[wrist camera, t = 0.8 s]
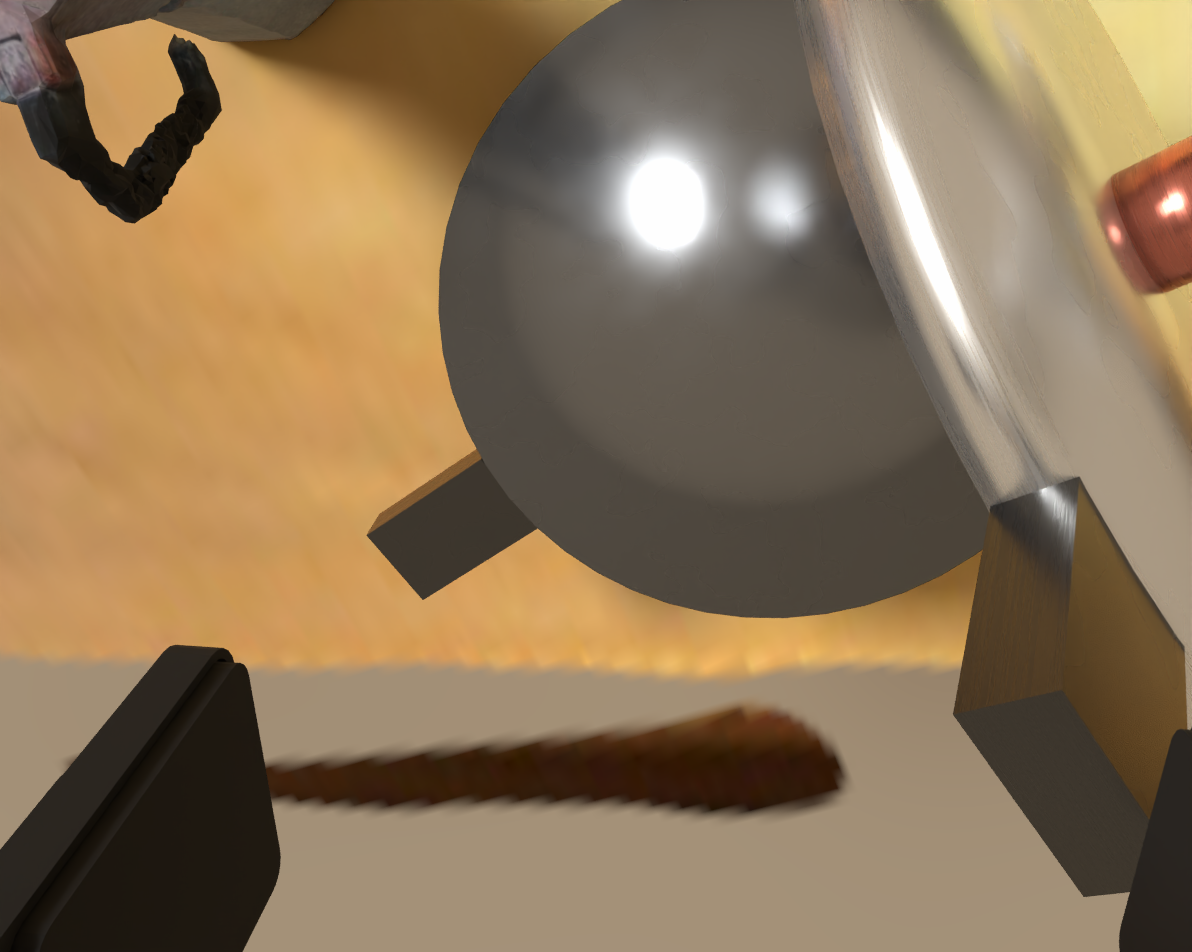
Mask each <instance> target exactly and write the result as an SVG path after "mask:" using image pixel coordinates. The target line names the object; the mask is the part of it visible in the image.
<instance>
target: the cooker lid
mask: <svg viewBox="0 0 1192 952" xmlns="http://www.w3.org/2000/svg"><path fill="white" fill-rule="evenodd" d="M794 5H795V12H796V18H797V24H798V29H799V33H800V37H801V41H802V46H803V50H804V54H805V59H806V63H807V67H808V71H809V76H810V80H811V84H812V88H813V93H814V97H815V100H816V103H817V106H818V110H819V113H820V116H821V120H822V123H823V126H824V130H825V133H826V136H827V140H828V143H829V146H830V149H831V153H832V156H833V159H834V163H835V166H836V169H837V173H838V176H839V179H840V181H841V184H842V187H843V190H844V192H845V195H846V198H847V201H848V203H849V206H850V209H851V212H852V214H853V217H854V220H855V223H856V225H857V228H858V231H859V234H860V236H861V239H862V242H863V245H864V247H865V250H866V253H867V256H868V258H869V261H870V264H871V266H872V268H873V271H874V273H875V275H876V278H877V280H878V283H879V285H880V287H881V290H882V292H883V294H884V297H885V299H886V302H887V304H888V306H889V309H890V311H891V313H892V316H893V318H894V320H895V323H896V325H897V328H898V330H899V332H900V335H901V337H902V339H903V342H904V344H905V347H906V349H907V351H908V353H909V356H910V358H911V360H912V362H913V364H914V366H915V368H916V370H917V372H918V374H919V376H920V378H921V380H922V383H923V385H924V387H925V389H926V391H927V393H928V395H929V397H930V399H931V401H932V403H933V405H934V408H935V410H936V412H937V414H938V416H939V418H940V420H941V422H942V424H943V426H944V428H945V430H946V433H947V435H948V437H949V439H950V441H951V443H952V444H953V446H954V448H955V450H956V452H957V454H958V455H959V457H960V459H961V461H962V463H963V465H964V467H965V468H966V470H967V472H968V474H969V476H970V478H971V479H972V481H973V483H974V485H975V487H976V489H977V490H978V492H979V494H980V496H981V498H982V500H983V502H984V503H985V505H986V507H987V509H988V511H989V517H988V523H987V529H986V534H985V540H984V545H983V551H982V556H981V562H980V568H979V573H978V579H977V584H976V590H975V595H974V601H973V606H972V612H971V618H970V623H969V629H968V634H967V640H966V645H965V651H964V656H963V662H962V668H961V673H960V679H959V685H958V690H957V695H956V701H955V707H954V712H953V715H954V716H955V718H956V719H957V721H958V722H959V723H960V725H961V726H962V728H963V729H964V730H965V732H966V733H967V735H968V736H969V737H970V739H971V740H972V742H973V743H974V744H975V746H976V747H977V749H978V750H979V751H980V753H981V754H982V755H983V757H984V758H985V759H986V761H987V762H988V764H989V765H990V767H991V768H992V769H993V771H994V772H995V774H996V775H997V776H998V778H999V779H1000V781H1001V782H1002V783H1003V785H1004V786H1005V787H1006V789H1007V790H1008V792H1009V793H1010V794H1011V796H1012V797H1013V799H1014V800H1015V802H1016V803H1017V804H1018V806H1019V807H1020V809H1021V810H1022V811H1023V813H1024V814H1025V815H1026V817H1027V818H1028V819H1029V821H1030V823H1031V824H1032V825H1033V827H1034V828H1035V829H1036V830H1037V832H1038V834H1039V835H1040V836H1041V838H1042V839H1043V841H1044V842H1045V843H1046V845H1047V846H1048V847H1049V849H1050V850H1051V852H1052V853H1053V855H1054V856H1055V857H1056V859H1057V860H1058V862H1059V863H1060V864H1061V866H1062V867H1063V868H1064V870H1065V871H1066V873H1067V874H1068V876H1069V877H1070V878H1071V880H1072V881H1073V882H1074V884H1075V885H1076V887H1077V888H1078V890H1079V891H1080V892H1081V894H1082V895H1083V897H1088V896H1097V895H1106V894H1116V893H1125V892H1130V890H1131V887H1132V883H1133V879H1134V876H1135V872H1136V868H1137V865H1138V861H1139V857H1140V853H1141V850H1142V846H1143V842H1144V839H1145V835H1146V831H1147V828H1148V824H1149V820H1150V816H1151V813H1152V809H1153V805H1154V802H1155V798H1156V794H1157V791H1158V787H1159V783H1160V779H1161V776H1162V772H1163V768H1164V765H1165V761H1166V757H1167V754H1168V750H1169V746H1170V742H1171V740H1172V737H1173V734H1174V733H1175V732H1176V731H1177V730H1179V729H1189V730H1191V727H1192V136H1190V137H1188V138H1186V139H1184V140H1182V141H1180V142H1178V143H1176V144H1174V145H1172V146H1170V147H1168V145H1167V143H1166V141H1165V139H1164V137H1163V135H1162V133H1161V131H1160V129H1159V127H1158V125H1157V123H1156V122H1155V120H1154V118H1153V116H1152V114H1151V112H1150V110H1149V108H1148V106H1147V104H1146V102H1145V100H1144V98H1143V96H1142V95H1141V93H1140V91H1139V89H1138V87H1137V85H1136V84H1135V82H1134V80H1133V78H1132V76H1131V74H1130V73H1129V71H1128V69H1127V67H1126V65H1125V63H1124V61H1123V60H1122V58H1121V56H1120V54H1119V52H1118V51H1117V49H1116V47H1115V45H1114V44H1113V42H1112V40H1111V38H1110V37H1109V35H1108V33H1107V31H1106V30H1105V28H1104V26H1103V24H1102V23H1101V21H1100V19H1099V17H1098V16H1097V14H1096V12H1095V11H1094V9H1093V7H1092V6H1091V4H1090V2H1089V1H1088V0H794Z"/></svg>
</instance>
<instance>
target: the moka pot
mask: <svg viewBox="0 0 1192 952" xmlns="http://www.w3.org/2000/svg"><path fill="white" fill-rule="evenodd" d="M333 2H334V0H0V101H1V102H5V103H9V104H14V105H18V107H19V109H20V112H21V114H22V117H23V120H24V122H25V125H26V128H27V130H28V133H29V136H30V138H31V141H32V143H33V145H34V147H35V149H36V151H37V153H38V155H39V157H40V159H43V160H46V161H48V162H49V163H50V164H51V165H53V166H55V167H57V168H59V169H61V170H63V171H65V172H66V173H67V174H68V176H69V177H70V178H72V179H75V180H80V181H81V183H82V184H83V186H84V187H85V189H86V190H87V191H88V192H89V193H90V195H91V196H92V197H93V198H94V199H95V200H96V202H97V203H98V204H99V205H103V206H106V207H107V209H108V211H109V212H111V213H113V214H114V215H116V216H118V217H119V218H121V219H122V220H123V221H125V222H128V223H136V222H137V221H139V220H140V219H141V218H143V217H145V216H147V215H148V214H150V213H152V212H153V211H155V210H156V209H157V207H159V206H160V205H161V204H162V198H163V196H165V195H167V194H168V191H169V188H170V187H171V186H172V185H173V183H174V181H175V178H176V174H177V173H178V171H179V170H180V168H181V167H182V166H183V165H184V164H185V163H186V160H187V159H189V158H190V155H191V152H192V149H193V146H195V145H197V144H199V143H200V142H201V141H202V140H203V139H204V133H205V132H206V131H207V130H209V129H210V127H211V124H212V123H213V122H214V120H215V119H216V118H217V116H218V115H219V113H220V112H221V111H222V109H221V103H220V97H219V93H218V91H217V88H216V86H215V83H214V81H213V79H212V77H211V75H210V73H209V70H208V67H207V63H206V60H205V57H204V56H203V55H202V53H201V52H200V51H199V50H198V48H197V47H196V45H195V44H194V43H192V42H191V41H190V40H188V41H187V42H186V41H185V40H184V39H183V38H177V36H176V35H175V34H174V36H173V38H172V40H171V42H170V44H169V48H168V53H169V56H170V58H171V60H172V62H173V64H174V67H175V69H176V71H177V74H178V76H179V79H180V81H181V83H182V87H183V91H184V94H183V95H182V96H181V97H180V98H179V100H178V103H177V107H176V111H175V114H174V113H172V114H170V115H169V116H167V117H166V118H164V119H163V120H162V121H161V123H157V124H156V125H155V130H154V132H152V133H150V134H149V135H148V137H147V138H146V140H145V141H144V143H143V145H142V146H141V147H138V148H135V149H134V151H133V153H132V154H131V155H130V156H129V158H128V160H127V162H126V164H125V166H124V167H123V166H121V165H120V164H118V163H115V162H112V161H111V160H110V157H109V154H108V152H107V150H106V149H105V148H104V147H103V145H102V144H101V143H100V142H99V141H98V140H97V139H96V138H95V135H94V132H93V129H92V126H91V123H90V120H89V116H88V113H87V109H86V106H85V95H84V85H83V82H82V80H81V77H80V74H79V71H78V68H77V66H76V64H75V62H74V60H73V58H72V56H71V54H70V52H69V50H68V48H67V46H66V41H65V40H67V39H70V38H74V37H78V36H81V35H85V34H90V33H93V32H96V31H100V30H104V29H107V28H111V27H115V26H119V25H123V24H129V23H132V22H135V21H140V20H146V19H148V18H151V19H154V20H156V21H159V22H162V23H165V24H168V25H170V26H173V27H176V28H180V29H183V30H186V31H189V32H191V33H194V34H197V35H199V36H202V37H205V38H207V39H210V40H212V41H219V42H233V41H263V40H277V39H288V40H291V39H293V38H294V37H296V36H298V35H299V34H300V33H301V32H302V31H303V30H304V29H306V28H307V27H308V26H309V25H311V24H312V23H313V22H314V21H315V20H316V19H317V17H319V16H320V15H322V14H323V13H324V11H325V10H326V9H327V8H328V7H329V6H330V5H331V4H332V3H333Z"/></svg>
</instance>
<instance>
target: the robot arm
mask: <svg viewBox="0 0 1192 952" xmlns="http://www.w3.org/2000/svg"><path fill="white" fill-rule="evenodd" d="M280 858H281V856H280V847H279V842H278V836H277V830H276V825H275V819H274V814H273V808H272V802H271V797H270V791H269V785H268V780H267V774H266V769H265V763H264V757H263V752H262V746H261V741H260V735H259V729H258V724H257V718H256V713H255V707H254V701H253V696H252V690H251V685H250V679H249V674H248V671H247V668H246V667H245V665H244V664H241V663H234V660H233V657H232V655H231V654H230V652H229V651H228V650H226V649H224V648H214V647H200V646H185V645H174V646H170V647H169V648H167V649H166V650H165V651H164V652H163V653H162V654H161V656H160V657H159V658H158V659H157V661H156V662H155V663H154V664H153V665H152V667H151V668H150V669H149V670H148V672H147V673H146V674H145V675H144V676H143V678H142V679H141V680H140V681H139V683H138V684H137V685H136V686H135V687H134V689H133V690H132V691H131V692H130V694H129V695H128V696H127V697H126V699H125V700H124V701H123V702H122V703H121V705H120V706H119V707H118V708H117V710H116V711H115V712H114V713H113V714H112V716H111V717H110V718H109V719H108V720H107V722H106V723H105V724H104V725H103V727H102V728H101V729H100V730H99V732H98V733H97V734H96V735H95V736H94V738H93V739H92V740H91V741H90V742H89V744H88V745H87V746H86V747H85V749H84V750H83V751H82V752H81V753H80V755H79V756H78V757H77V758H76V760H75V761H74V762H73V763H72V764H71V766H70V767H69V768H68V769H67V771H66V772H65V773H64V774H63V775H62V776H61V777H60V778H59V779H58V780H57V781H56V782H55V784H54V785H53V786H52V787H51V789H50V790H49V791H48V792H47V793H46V795H45V796H44V797H43V798H42V800H41V801H40V802H39V803H38V804H37V805H36V807H35V808H34V809H33V810H32V812H31V813H30V814H29V815H28V817H27V818H26V819H25V820H24V821H23V823H22V824H21V825H20V826H19V828H18V829H17V830H16V831H15V832H14V834H13V835H12V836H11V837H10V839H9V840H8V841H7V842H6V843H5V845H4V846H3V847H2V848H1V849H0V952H243V950H244V948H245V946H246V944H247V942H248V940H249V938H250V936H251V934H252V931H253V930H254V928H255V926H256V924H257V922H258V920H259V918H260V916H261V914H262V912H263V910H264V908H265V906H266V904H267V902H268V900H269V898H270V896H271V894H272V892H273V890H274V887H275V885H276V882H277V879H278V875H279V869H280ZM1119 936H1120V937H1119V948H1120V952H1192V727H1191V730H1189V729H1179V730H1177V731H1176V732H1175V733H1174V734H1173V737H1172V740H1171V742H1170V746H1169V750H1168V754H1167V757H1166V761H1165V765H1164V768H1163V772H1162V776H1161V779H1160V783H1159V787H1158V791H1157V794H1156V798H1155V802H1154V805H1153V809H1152V813H1151V816H1150V820H1149V824H1148V828H1147V831H1146V835H1145V839H1144V842H1143V846H1142V850H1141V853H1140V857H1139V861H1138V865H1137V868H1136V872H1135V876H1134V879H1133V883H1132V887H1131V890H1130V894H1129V898H1128V901H1127V906H1126V909H1125V913H1124V916H1123V920H1122V924H1121V929H1120V935H1119Z"/></svg>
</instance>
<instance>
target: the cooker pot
mask: <svg viewBox="0 0 1192 952" xmlns="http://www.w3.org/2000/svg"><path fill="white" fill-rule="evenodd" d="M439 321H440V330H441V340H442V349H443V355H444V360H445V364H446V368H447V372H448V376H449V380H450V385H451V389H452V393H453V395H454V398H455V401H456V403H457V406H458V408H459V411H460V414H461V416H462V419H463V422H464V424H465V427H466V429H467V431H468V433H469V435H470V437H471V439H472V441H473V443H474V444H475V446H476V448H477V449H476V450H475V451H473V452H472V453H470V454H469V455H467V456H466V457H464V458H463V459H461V460H460V461H458V462H457V463H455V464H454V465H452V466H451V467H449V468H448V469H446V470H445V471H443V472H442V473H440V474H439V475H437V476H436V477H434V478H433V479H431V480H430V481H428V482H427V483H425V484H424V485H422V486H421V487H419V488H418V489H416V490H415V491H413V492H412V493H410V494H409V495H407V496H406V497H404V498H403V499H401V500H400V501H398V502H397V503H395V504H394V505H392V506H391V507H389V508H388V509H386V510H385V511H383V512H382V513H380V514H379V516H378V517H377V519H376V521H375V522H374V524H373V525H372V527H371V529H370V530H369V532H368V534H367V536H368V538H369V539H370V540H371V541H372V542H373V543H374V544H375V546H376V547H377V548H378V549H379V550H380V551H381V553H382V554H383V555H384V556H385V557H386V558H387V559H388V561H389V562H390V563H391V564H392V565H393V566H394V567H395V569H396V570H397V571H398V572H399V573H400V574H401V575H402V577H403V578H404V579H405V580H406V581H407V582H408V583H409V585H410V586H411V587H412V588H413V589H414V590H415V592H416V593H417V594H418V595H419V596H420V597H421V598H422V600H424V599H426V598H427V597H429V596H430V595H432V594H434V593H435V592H437V591H438V590H440V589H442V588H443V587H445V586H446V585H448V584H449V583H451V582H453V581H454V580H456V579H457V578H459V577H461V576H462V575H464V574H465V573H467V572H469V571H470V570H472V569H473V568H475V567H477V566H478V565H480V564H481V563H483V562H485V561H486V560H488V559H489V558H491V557H493V556H494V555H496V554H497V553H499V552H501V551H502V550H504V549H505V548H507V547H509V546H510V545H512V544H513V543H515V542H517V541H518V540H520V539H521V538H523V537H525V536H526V535H528V534H529V533H531V532H533V531H534V530H536V529H537V528H538V529H539V530H540V531H542V532H543V533H544V534H545V535H546V536H548V537H549V538H550V539H551V540H552V541H553V542H555V543H556V544H557V545H558V546H559V547H560V548H562V549H563V550H564V551H565V552H567V553H568V554H570V555H571V556H573V557H574V558H576V559H577V560H579V561H580V562H582V563H584V564H585V565H587V566H588V567H590V568H591V569H593V570H594V571H596V572H597V573H599V574H601V575H603V576H605V577H607V578H609V579H611V580H613V581H615V582H617V583H619V584H621V585H623V586H625V587H627V588H629V589H631V590H633V591H636V592H639V593H642V594H644V595H647V596H650V597H652V598H655V599H658V600H661V601H663V602H666V603H669V604H673V605H677V606H682V607H686V608H690V609H694V610H698V611H702V612H706V613H714V614H722V615H730V616H738V617H753V618H789V617H800V616H810V615H820V614H827V613H832V612H837V611H842V610H846V609H851V608H856V607H861V606H865V605H868V604H871V603H874V602H877V601H880V600H883V599H886V598H889V597H892V596H895V595H898V594H901V593H904V592H906V591H908V590H911V589H913V588H915V587H917V586H919V585H921V584H924V583H926V582H928V581H930V580H932V579H934V578H937V577H939V576H941V575H943V574H944V573H946V572H948V571H949V570H951V569H953V568H954V567H956V566H957V565H959V564H961V563H962V562H964V561H966V560H967V559H969V558H971V557H972V556H974V555H976V554H977V553H978V552H980V551H981V550H982V549H983V545H984V540H985V534H986V529H987V523H988V517H989V511H988V509H987V507H986V505H985V503H984V502H983V500H982V498H981V496H980V494H979V492H978V490H977V489H976V487H975V485H974V483H973V481H972V479H971V478H970V476H969V474H968V472H967V470H966V468H965V467H964V465H963V463H962V461H961V459H960V457H959V455H958V454H957V452H956V450H955V448H954V446H953V444H952V443H951V441H950V439H949V437H948V435H947V433H946V430H945V428H944V426H943V424H942V422H941V420H940V418H939V416H938V414H937V412H936V410H935V408H934V405H933V403H932V401H931V399H930V397H929V395H928V393H927V391H926V389H925V387H924V385H923V383H922V380H921V378H920V376H919V374H918V372H917V370H916V368H915V366H914V364H913V362H912V360H911V358H910V356H909V353H908V351H907V349H906V347H905V344H904V342H903V339H902V337H901V335H900V332H899V330H898V328H897V325H896V323H895V320H894V318H893V316H892V313H891V311H890V309H889V306H888V304H887V302H886V299H885V297H884V294H883V292H882V290H881V287H880V285H879V283H878V280H877V278H876V275H875V273H874V271H873V268H872V266H871V264H870V261H869V258H868V256H867V253H866V250H865V247H864V245H863V242H862V239H861V236H860V234H859V231H858V228H857V225H856V223H855V220H854V217H853V214H852V212H851V209H850V206H849V203H848V201H847V198H846V195H845V192H844V190H843V187H842V184H841V181H840V179H839V176H838V173H837V169H836V166H835V163H834V159H833V156H832V153H831V149H830V146H829V143H828V140H827V136H826V133H825V130H824V126H823V123H822V120H821V116H820V113H819V110H818V106H817V103H816V100H815V97H814V93H813V88H812V84H811V80H810V76H809V71H808V67H807V63H806V59H805V54H804V50H803V46H802V41H801V37H800V33H799V29H798V24H797V18H796V12H795V5H794V0H622V1H620V2H618V3H616V4H614V5H612V6H610V7H609V8H607V9H606V10H604V11H603V12H601V13H600V14H598V15H597V16H596V17H594V18H593V19H591V20H590V21H588V22H587V23H585V24H584V25H582V26H581V27H580V28H578V29H577V30H575V31H574V32H572V33H571V34H569V35H568V36H567V37H566V38H565V39H564V40H563V41H562V42H561V43H560V44H558V45H557V46H556V47H555V48H554V49H553V50H552V51H551V52H550V53H549V54H548V55H546V56H545V57H544V58H543V59H542V60H541V61H540V62H539V63H538V64H537V65H535V66H534V67H533V69H532V70H531V71H530V72H529V73H528V75H527V76H526V77H525V78H524V79H523V80H522V82H521V83H520V84H519V85H518V86H517V88H516V89H515V90H514V91H513V92H512V94H511V95H510V96H509V97H508V98H507V100H506V101H505V102H504V103H503V105H502V106H501V108H500V109H499V111H498V113H497V114H496V116H495V117H494V119H493V121H492V122H491V124H490V125H489V127H488V128H487V130H486V132H485V133H484V135H483V136H482V138H481V140H480V141H479V143H478V145H477V147H476V149H475V151H474V154H473V156H472V158H471V160H470V162H469V165H468V167H467V169H466V171H465V173H464V175H463V178H462V180H461V182H460V184H459V188H458V191H457V194H456V197H455V201H454V204H453V207H452V211H451V214H450V217H449V221H448V224H447V228H446V234H445V240H444V246H443V252H442V259H441V265H440V278H439Z"/></svg>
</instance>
